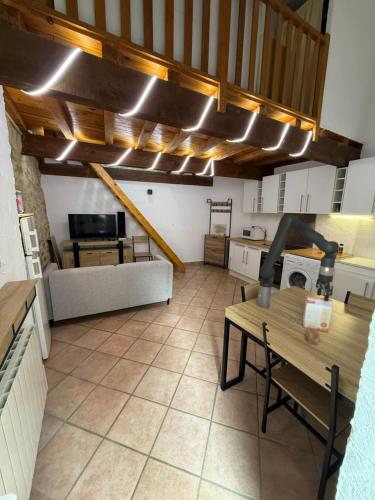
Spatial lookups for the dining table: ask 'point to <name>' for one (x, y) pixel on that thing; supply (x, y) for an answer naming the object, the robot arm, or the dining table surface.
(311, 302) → the cracker box
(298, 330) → the dining table surface
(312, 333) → the walnut block
